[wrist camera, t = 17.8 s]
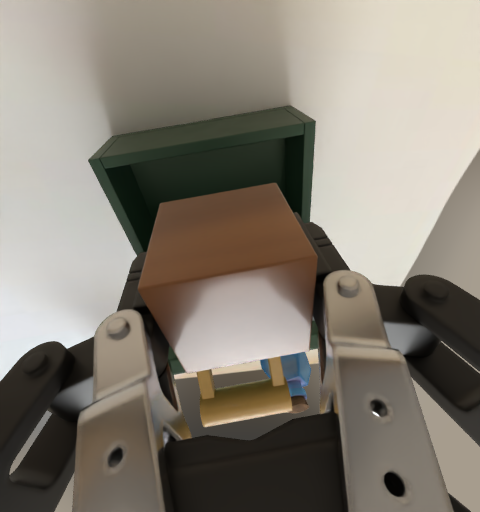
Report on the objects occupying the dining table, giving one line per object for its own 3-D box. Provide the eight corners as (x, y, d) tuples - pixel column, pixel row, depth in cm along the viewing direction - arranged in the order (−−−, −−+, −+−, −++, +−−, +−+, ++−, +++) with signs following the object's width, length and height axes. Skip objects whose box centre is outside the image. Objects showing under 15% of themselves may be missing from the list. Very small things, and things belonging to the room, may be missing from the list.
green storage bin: (111, 136, 22) (87, 159, 17) (291, 105, 22) (316, 120, 18) (162, 254, 31) (155, 291, 26) (290, 231, 31) (307, 264, 26)
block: (159, 202, 9) (136, 289, 6) (276, 181, 9) (318, 256, 6) (190, 284, 12) (186, 374, 9) (279, 267, 12) (310, 351, 9)
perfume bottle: (299, 336, 46) (324, 408, 37) (269, 348, 48) (286, 420, 39) (287, 320, 43) (311, 395, 33) (255, 333, 44) (269, 409, 35)
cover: (61, 379, 12) (92, 478, 12) (400, 318, 12) (409, 419, 13) (153, 291, 26) (165, 340, 26) (308, 263, 26) (314, 313, 27)
